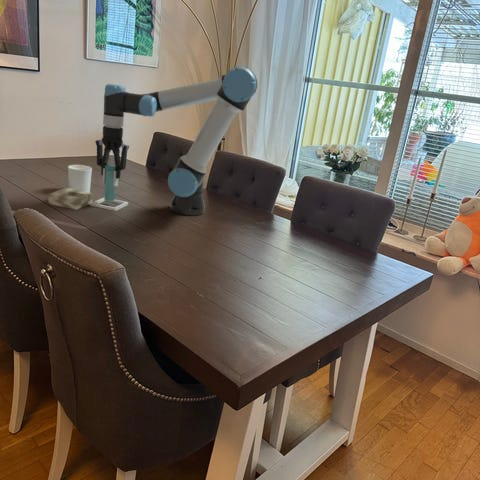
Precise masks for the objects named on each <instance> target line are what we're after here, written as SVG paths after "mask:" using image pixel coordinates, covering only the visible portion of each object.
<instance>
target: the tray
mask: <svg viewBox="0 0 480 480" xmlns="http://www.w3.org/2000/svg"><path fill="white" fill-rule="evenodd" d="M105 201H106V202H109V203H114V204H119V205H117V206H115V207H114V206H110V205H104V204H102V203H103V202H105ZM128 205H129V202H128V201H124V200H119V199H115V200H114V201H107V200H105V199H104V197H101V198H99V199H97V200H95V201H92V203H91V204H90V207H94V208H100V209H105V210H109V211H113V212H117V211H119V210H120V209H123V208H124V207H126V206H128Z"/></svg>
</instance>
